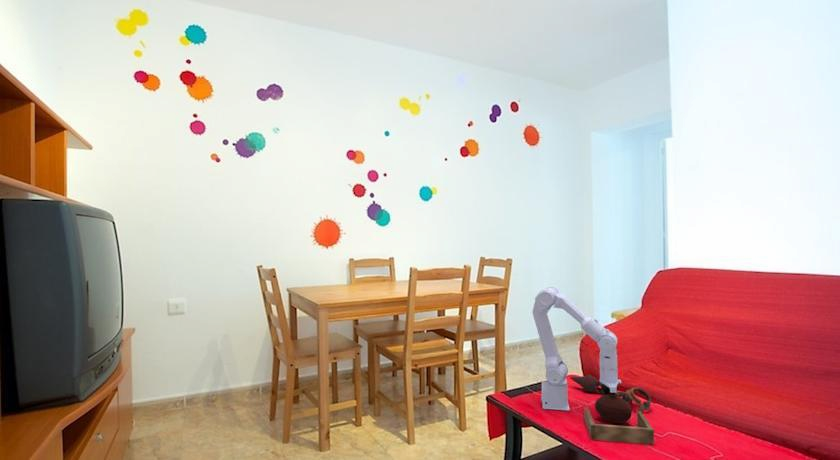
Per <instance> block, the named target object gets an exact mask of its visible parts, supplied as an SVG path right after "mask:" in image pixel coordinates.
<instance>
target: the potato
mask: <svg viewBox="0 0 840 460" xmlns="http://www.w3.org/2000/svg"><path fill="white" fill-rule="evenodd" d="M594 409H595V411H596V412H597V414H599V416H600V417H601V418H602V419H604V420H605V421H608V422H610V423H612V424H613V423H615V424H623V423H627V421H630V419H631V417H632V415H633V414H632V413H633V412H632V411H633V410H632V407H631V405H630V404H629V402H626V401H625V400H624V399H622V397H619V396H617V395H614V394H606V395H604V394H603V395H601V396H600V397H598V398H597V399H596V400H595V403H594Z"/></svg>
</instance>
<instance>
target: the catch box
mask: <svg viewBox="0 0 840 460" xmlns="http://www.w3.org/2000/svg"><path fill="white" fill-rule="evenodd" d="M583 412H584V422H585V425H586V428H587V431H588V433H589V437H590V439H591V440H595V441H605V442H616V443H617V442H618V443H629V444H638V445H639V444H640V443H641V444H642V445H651V444H652V445H653V446H654V445H655V429H654V428H653V426H652V425H651V424H650V422H649V421H648V419H647V418H646V416H645V415H644V414H643V412H641V411H638V410H636V423H637V424H638V425H637V426H627V425H615V424H604V423H602V424H601V423H595V421H594V418H593V417H592V413H591V411H590V409H589V407H584V411H583Z"/></svg>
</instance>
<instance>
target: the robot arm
mask: <svg viewBox="0 0 840 460" xmlns="http://www.w3.org/2000/svg"><path fill="white" fill-rule="evenodd" d="M534 300H535V301H534V303H533V308H532V312H531V313H532V316H533V320H534V323H535V327H536V329H537V333H538V337H539V340H540V344H541V347H542V350H543V354H544V357H545V361H544V362H545V363H544V364H545V365H544V367H545V379H546V380H545V381H544V380H543V381H541V396H540V401H541V404H542V409H543V410H554V411H555V410H557V411H570V410H571V409H570V406H569V401H568V380H567V378H566V377H567V376H568V373H569V368H568V365H566V363H565V362H564V360H563V358H562V356H561V355H560V354H559V350H558V347H557V343H556V340H555V336H554V332H553V330H552V327H551V323H550V319H549V316H548V313H549V311H550V309H551V308H552V307H553V308H555V309H562V310H564V311H565V312H566V313H567V314H569V315H570V316H571V317H572V318H574V319H575V320H576V321H577V322H578V323H579V324H580V329H581V330H582V331H583V332H584V333H585V334H587V336H589V337H590V338H591V339H592V340H593V341H595V342H596V343H597V346H598V348H599V381H600V382H601V383H602V384H600V386H599V387H600V388H602V391H603V394H602V395H603V396H604V395H606V394H614V395H616V393H617V392H619V387H618V385H619V384H622V380H621V379H619V378H618V355H617V352H618V350H617V345H618V337H617V336H616V334H615V333H614V332H612V331H610V330H609V329H608V328H605V327H604V326H603V325H602V324H601V323H600V322H599V319H598V318H594V317H593V316H586V314H585V313H584V312H582V311H581V310H580V309H579V308H578V307H577V306H576V305H575V304H574V303H573V302H572V301H571V300H570V299H568V297H567V296H565V294H564V293H563V292H561V291H559V290H558V289H557V287H556V288H555V287H554V286H550V287H546V288H545V289H542V290H540V291H539V292H538V293H537V294H536V296H535V298H534Z"/></svg>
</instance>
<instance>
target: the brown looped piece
mask: <svg viewBox="0 0 840 460" xmlns="http://www.w3.org/2000/svg"><path fill="white" fill-rule="evenodd" d="M635 392H638V394H639V395H642V396H645V398H646V401H643V403H642V399H640V398H638V397H637V396H636V394H635ZM616 395H617V396H619V397H621V398H622V399H624V400H625V401H626V402H627V403H628V404H629V403H630V404H632V403H633V402H634V403H635V404H636V405H638V406H639V407H638V409H637V411H641V412H642V413H643V412H644V411H646V410H648V409H649V408H650V407H651V402H652V397H651V396H650V395H649V393H648V392H646V390H643V389H642V388H640V387H632V388H630V389H627V390H626V391H625V392H624V391H621V390H620V391H617V393H616Z"/></svg>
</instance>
